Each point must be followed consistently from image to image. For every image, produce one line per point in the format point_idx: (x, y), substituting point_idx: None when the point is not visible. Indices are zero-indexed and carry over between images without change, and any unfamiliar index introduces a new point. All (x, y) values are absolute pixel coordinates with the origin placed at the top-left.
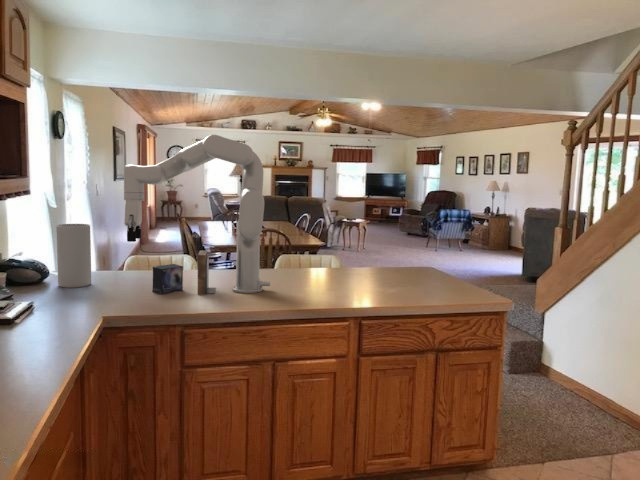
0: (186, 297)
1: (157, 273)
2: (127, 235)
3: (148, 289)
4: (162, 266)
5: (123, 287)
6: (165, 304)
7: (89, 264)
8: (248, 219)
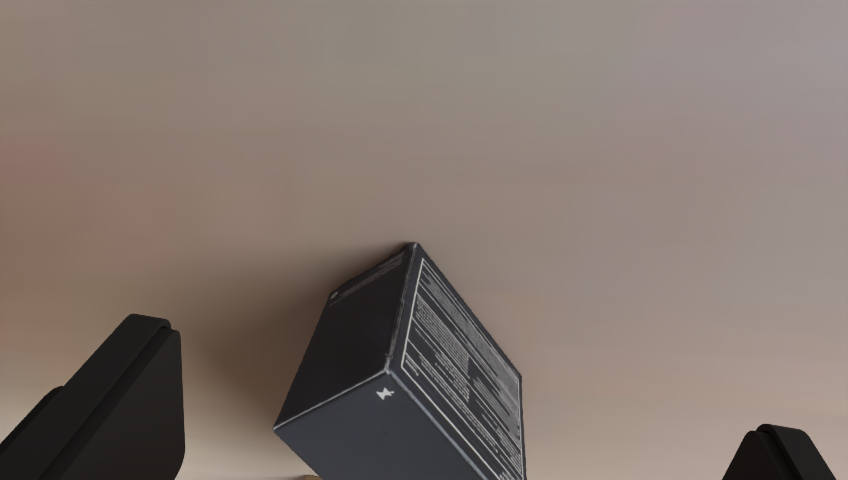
0: (242, 418)
1: (329, 367)
2: (42, 418)
3: (519, 215)
4: (383, 446)
5: (659, 3)
6: (63, 303)
7: None
8: None
